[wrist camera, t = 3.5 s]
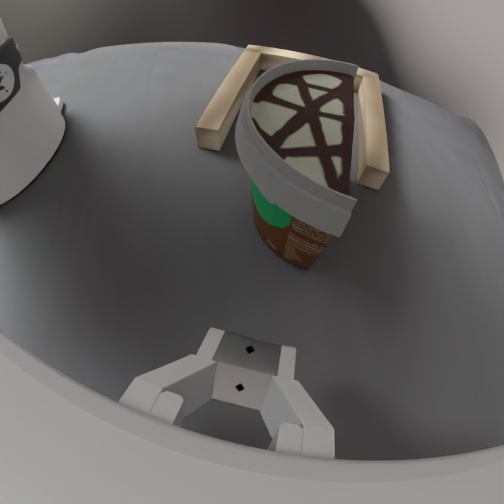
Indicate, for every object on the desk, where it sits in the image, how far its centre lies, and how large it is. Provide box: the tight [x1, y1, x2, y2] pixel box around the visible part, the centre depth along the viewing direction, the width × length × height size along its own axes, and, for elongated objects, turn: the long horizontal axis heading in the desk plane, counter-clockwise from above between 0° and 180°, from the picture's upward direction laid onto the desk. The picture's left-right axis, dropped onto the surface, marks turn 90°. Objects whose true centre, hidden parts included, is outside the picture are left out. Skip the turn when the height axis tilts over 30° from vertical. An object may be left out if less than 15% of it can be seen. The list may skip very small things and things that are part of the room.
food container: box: [235, 59, 359, 270], centre depth 17 cm, size 12×6×10 cm, turn 165°
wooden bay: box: [195, 45, 390, 190], centre depth 25 cm, size 16×17×2 cm
